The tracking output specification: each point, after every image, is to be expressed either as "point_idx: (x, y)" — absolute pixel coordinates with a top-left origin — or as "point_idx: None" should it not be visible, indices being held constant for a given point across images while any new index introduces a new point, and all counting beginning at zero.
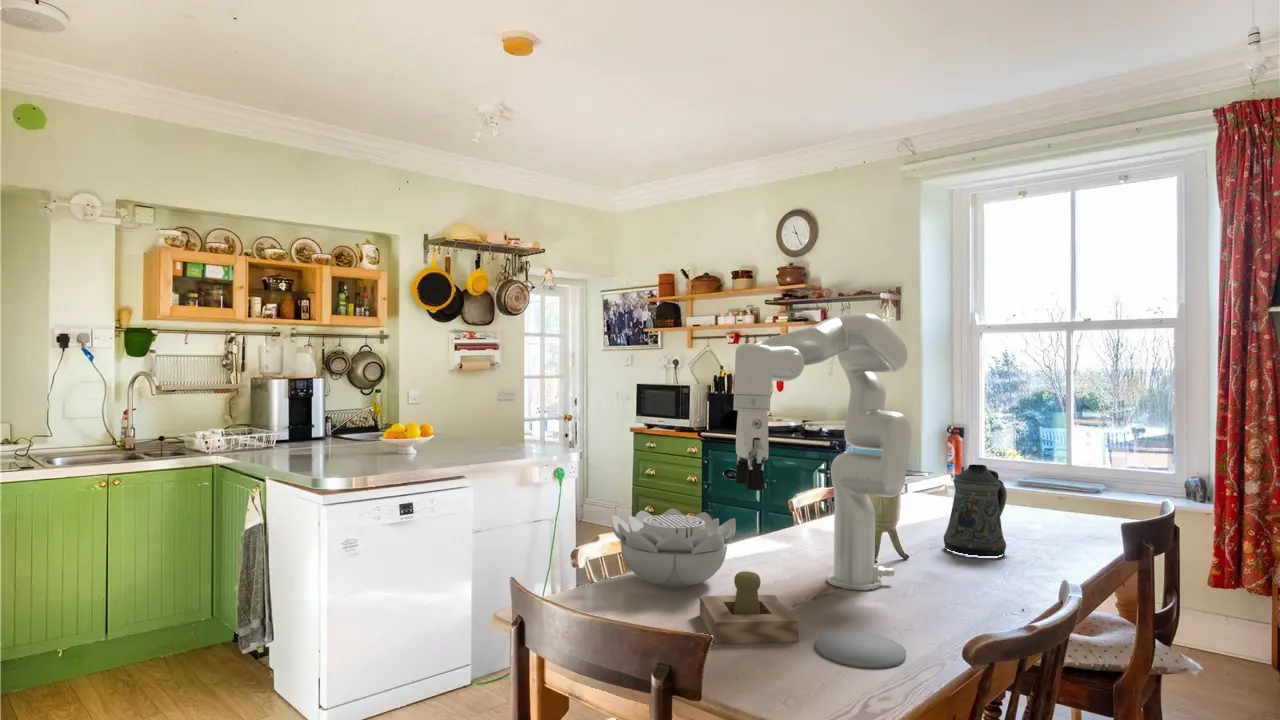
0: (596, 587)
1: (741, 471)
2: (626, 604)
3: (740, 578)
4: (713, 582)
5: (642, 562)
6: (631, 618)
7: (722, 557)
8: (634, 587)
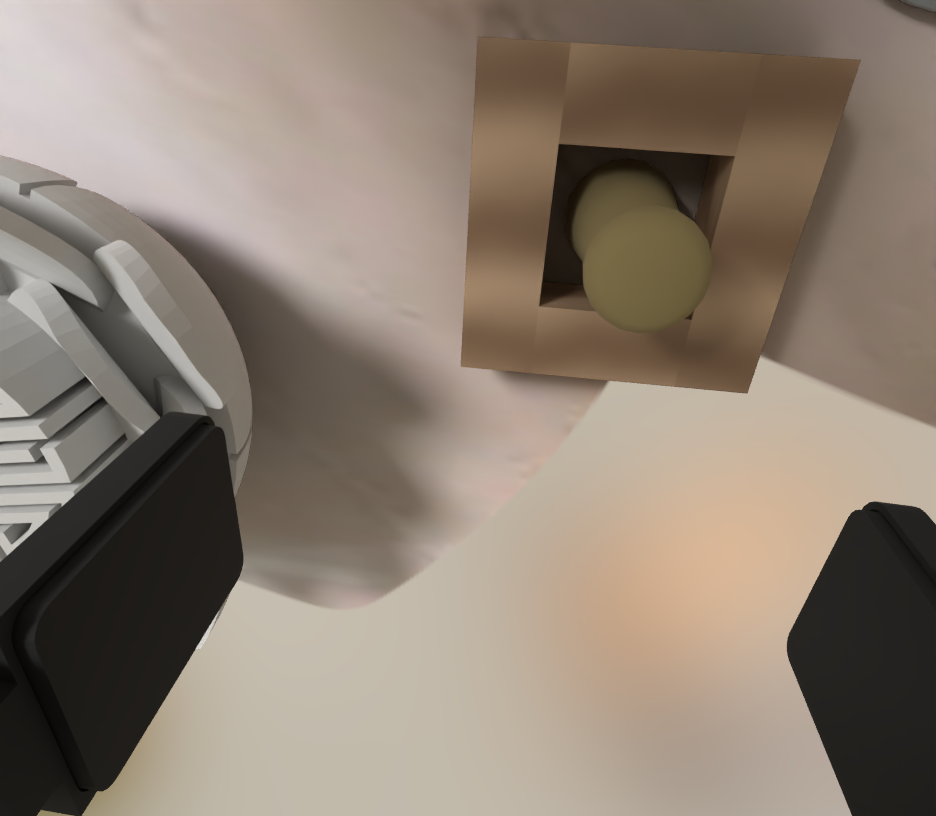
0: None
1: (150, 659)
2: (354, 503)
3: (676, 323)
4: (75, 177)
5: None
6: (471, 513)
7: (97, 204)
8: None
